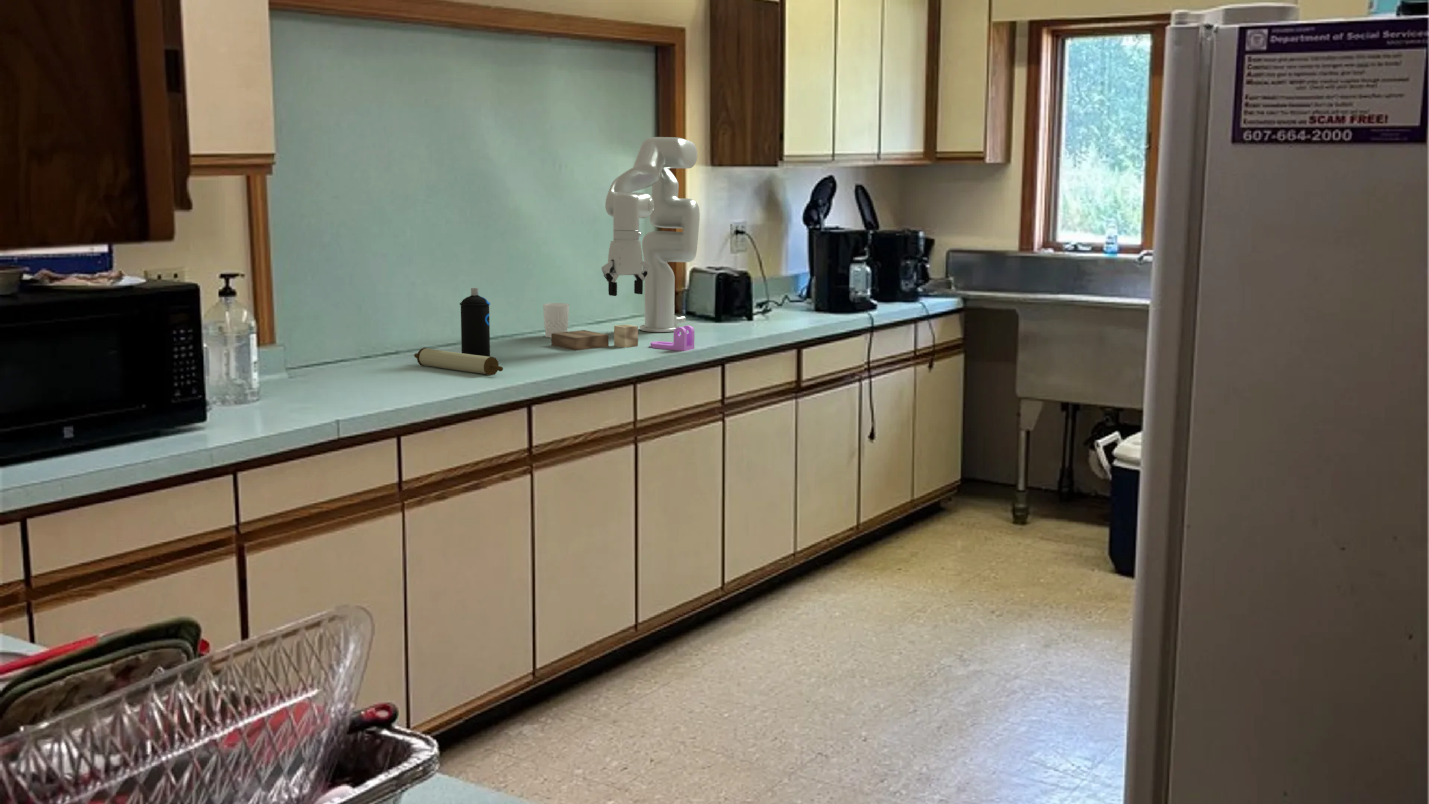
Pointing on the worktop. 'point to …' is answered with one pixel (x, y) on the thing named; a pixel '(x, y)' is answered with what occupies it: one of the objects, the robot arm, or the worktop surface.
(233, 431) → the worktop surface
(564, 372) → the worktop surface
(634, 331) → the maple block
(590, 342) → the base block
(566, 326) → the white cup
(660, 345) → the bracket
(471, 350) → the aerosol can
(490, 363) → the rolling pin
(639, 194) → the robot arm
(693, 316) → the worktop surface
